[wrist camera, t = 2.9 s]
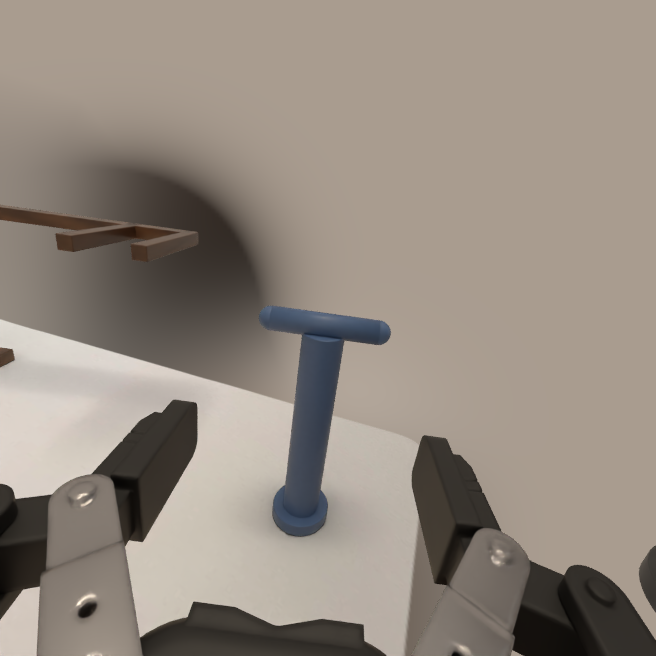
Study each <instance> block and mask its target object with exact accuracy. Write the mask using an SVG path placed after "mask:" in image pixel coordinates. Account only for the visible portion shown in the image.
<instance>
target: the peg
mask: <svg viewBox="0 0 656 656" xmlns="http://www.w3.org/2000/svg"><path fill="white" fill-rule="evenodd" d="M259 321H260V324H261V325H262V326H263V327H264V328H265V329H267V330H273V331H279V332H280V331H281V332H287V333H294V334H301V335H302V341H301V350H300V359H299V368H298V376H297V386H296V394H295V403H294V412H293V421H292V430H291V439H290V448H289V457H288V466H287V475H286V484H285V486H283V487H282V488H281V489H280V490H279V491H278V492H277V493H276V495H275V497H274V502H273V518H274V521H275V523H276V524H277V526H278V527H279V528H280V529H281V530H283V531H284V532H286V533H288V534H291V535H294V536H306V535H310V534H312V533H314V532H316V531H317V530H319V529H320V528H321V527H322V525H323V524H324V522H325V519H326V514H327V508H328V504H327V499H326V497H325V495H324V494H323V492H322V491H321V490H320V489H321V483H322V476H323V470H324V464H325V458H326V451H327V445H328V439H329V433H330V426H331V420H332V414H333V408H334V401H335V395H336V389H337V383H338V376H339V370H340V364H341V357H342V351H343V345H344V340H345V341H352V342H360V343H367V344H374V345H382V344H384V343H386V342H387V341H388V339H389V338H390V335H391V331H390V328H389V326H388V325H387V324H386V323H385V322H383V321H380V320H372V319H365V318H358V317H351V316H343V315H336V314H329V313H321V312H314V311H307V310H300V309H292V308H285V307H278V306H267V307H265V308H264V309H262V311H261V312H260V315H259Z"/></svg>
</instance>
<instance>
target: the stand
mask: <svg viewBox="0 0 656 656" xmlns="http://www.w3.org/2000/svg"><path fill="white" fill-rule="evenodd" d="M0 220H7V221H13V222H20V223H28V224H35V225H42V226H49V227H56V228H63V229H71V230H77V231H70V232H63V233H56V241H57V247H58V250H63V251H71V252H75V251H80V250H84V249H89V248H94V247H98V246H103V245H108V244H112V243H117V242H122V241H126V240H131V239H143V240H146V241H142V242H137V243H133V244H131V253H132V260H136V261H144V262H148V261H151V260H154V259H157V258H160V257H163V256H166V255H168V254H172V253H174V252H177V251H180V250H183V249H186V248H189V247H192V246H195V245H198V233H197V232H192V231H185V230H177V229H171V228H163V227H156V226H149V225H142V224H135V223H126V222H120V221H113V220H105V219H99V218H91V217H84V216H77V215H70V214H62V213H55V212H48V211H41V210H34V209H26V208H19V207H12V206H4V205H0ZM13 360H15V358H14V354H13V350H12V349H7V348H0V367H1V366H3V365H5V364H7V363H9V362H11V361H13Z"/></svg>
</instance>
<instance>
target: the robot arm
mask: <svg viewBox="0 0 656 656" xmlns="http://www.w3.org/2000/svg"><path fill="white" fill-rule="evenodd" d="M196 445H197V404H196V403H194V402H187V401H180V400H173V401H172V402H171V403H170V404H169V405H168V406H167V407H166V409H165V410H164V411H163V412H162V413H159V412H154V413H152V414H150V415H149V416H147V417H145V418H144V419H142V420H140V421H139V422H138V424H137V425H136V426H135V427H134V428H133V429H132V430H131V433H128V435H127V436H126V437H125V438H124V439H123V442H120V443H119V444H118V446H117V447H116V448H115V449H114V450H113V451H112V452H111V453H110V454H109V455H108V457H107V458H106V459H105V460H104V461H103V462H102V463H101V464H100V465H99V466H98V468H97V469H96V470H95V471H94V472H93V473H92V474H90V475H84V476H81V477H78V478H75V479H73V480H70V481H69V482H67V483H65V484H64V485H62V486H61V487H59V488H58V489H57V490H56V491H55V492H54V493H53V494H52V495H46V496H37V497H29V498H20V499H15V496H14V492H13V490H12V488H11V487H9V486H7V485H4V484H0V619H1V618H2V617H3V615H4V614H5V613H6V611H7V610H8V609H9V607H10V606H11V605H12V603H13V602H14V601H15V599H16V598H17V597H18V595H19V594H20V593H21V591H22V590H23V589H28V588H33V587H39V586H40V597H39V618H38V639H37V656H386V655H385V654H384V653H383V652H382V651H380V650H379V649H377V648H376V647H374V646H372V645H371V644H369V643H367V642H365V641H364V626H363V625H362V624H355V623H347V622H340V621H333V620H325V619H319V620H313V621H307V622H301V623H295V624H289V625H283V626H275V625H272V624H270V623H268V622H266V621H264V620H261V619H259V618H257V617H255V616H253V615H251V614H249V613H246V612H244V611H242V610H240V609H238V608H236V607H230V606H222V605H215V604H208V603H200V602H193V604H192V607H191V610H190V612H189V615H188V617H187V618H181V619H178V620H175V621H171V622H168V623H166V624H164V625H161V626H159V627H157V628H155V629H153V630H152V631H150V632H148V633H146V634H145V635H143V636H142V637H140V636H139V630H138V624H137V617H136V611H135V605H134V599H133V593H132V587H131V581H130V575H129V569H128V562H127V556H126V550H125V546H126V544H127V543H128V541H129V540H131V541H138V542H143V541H144V539H145V537H146V536H147V534H148V532H149V531H150V529H151V527H152V525H153V524H154V522H155V520H156V519H157V517H158V515H159V513H160V512H161V510H162V508H163V507H164V505H165V503H166V501H167V500H168V498H169V496H170V495H171V493H172V491H173V489H174V488H175V486H176V484H177V483H178V481H179V479H180V477H181V476H182V474H183V472H184V470H185V469H186V467H187V465H188V464H189V462H190V460H191V458H192V457H193V454H194V452H195V449H196ZM412 489H413V493H414V497H415V502H416V506H417V510H418V514H419V519H420V523H421V527H422V531H423V536H424V540H425V545H426V549H427V553H428V557H429V562H430V566H431V570H432V575H433V579H434V583H436V584H442V585H447V586H446V588H445V590H444V592H443V594H442V596H441V598H440V599H439V602H438V603H437V605H436V607H435V610H434V611H433V613H432V615H431V617H430V619H429V621H428V623H427V625H426V627H425V629H424V631H423V633H422V635H421V637H420V639H419V640H418V642H417V645H416V646H415V648H414V650H413V652H412V654H411V656H510V655H511V652H512V650H513V651H515V652H517V653H519V654H521V655H523V656H656V640H655V639H654V637H653V636H652V634H651V633H650V631H649V629H648V628H647V626H646V625H645V623H644V622H643V620H642V619H641V617H640V616H639V614H638V613H637V611H636V610H635V608H634V607H633V605H632V604H631V602H630V600H629V599H628V598H627V596H626V595H625V594H624V592H623V591H622V590H621V589H620V588H619V587H618V586H617V585H616V584H615V583H614V582H613V581H611V580H610V579H609V578H607V577H606V576H605V575H603V574H602V573H600V572H598V571H596V570H594V569H592V568H589V567H587V566H582V565H574V566H571V567H569V568H568V570H567V571H566V573H565V575H562V574H559V573H557V572H555V571H552V570H550V569H548V568H545V567H543V566H540V565H538V564H536V563H534V562H531V561H530V560H529V558H528V556H527V554H526V553H525V551H524V550H523V549H522V547H521V546H520V545H519V544H518V543H517V542H516V541H515V540H514V539H512V538H511V537H510V536H508V535H506V534H505V533H503V532H501V529H500V527H499V525H498V523H497V521H496V518H495V516H494V514H493V512H492V510H491V508H490V506H489V504H488V501H487V500H486V497H485V495H484V493H482V489H481V486H480V485H479V483H478V482H477V478H476V476H475V474H474V472H473V469H472V467H471V466H470V465H469V464H468V463H467V462H466V461H465V460H464V459H463V458H462V457H461V456H460V455H454V454H453V453H452V451H451V448H450V446H449V443H448V441H447V439H446V438H440V437H433V436H425V435H424V436H423V437H422V439H421V442H420V445H419V449H418V453H417V456H416V460H415V463H414V467H413V471H412Z"/></svg>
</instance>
